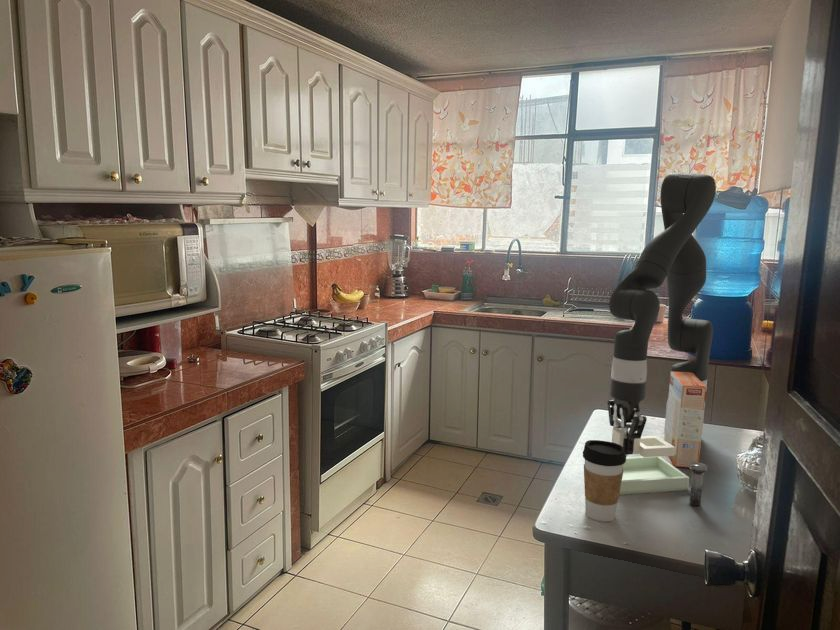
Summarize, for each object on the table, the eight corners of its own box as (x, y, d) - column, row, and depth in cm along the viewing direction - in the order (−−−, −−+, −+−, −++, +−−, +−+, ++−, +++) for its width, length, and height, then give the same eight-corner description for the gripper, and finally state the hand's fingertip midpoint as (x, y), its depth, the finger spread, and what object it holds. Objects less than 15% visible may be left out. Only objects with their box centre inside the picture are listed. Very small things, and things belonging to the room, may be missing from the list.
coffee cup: (575, 504, 130) (579, 437, 127) (615, 505, 130) (620, 438, 127) (584, 524, 122) (588, 453, 119) (627, 525, 121) (632, 454, 119)
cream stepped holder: (656, 443, 145) (657, 423, 144) (674, 455, 138) (676, 434, 137) (607, 446, 143) (608, 425, 142) (622, 458, 136) (624, 436, 135)
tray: (590, 471, 147) (590, 459, 146) (657, 467, 150) (658, 455, 149) (615, 495, 134) (616, 482, 134) (688, 490, 137) (689, 477, 137)
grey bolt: (683, 502, 132) (687, 462, 130) (697, 500, 132) (700, 461, 131) (692, 509, 128) (696, 468, 127) (706, 508, 129) (710, 467, 127)
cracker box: (700, 469, 148) (708, 386, 145) (673, 467, 149) (680, 384, 146) (687, 448, 162) (694, 371, 158) (663, 446, 163) (669, 370, 159)
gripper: (661, 385, 131) (655, 461, 133) (628, 369, 144) (623, 438, 147) (629, 386, 129) (623, 463, 132) (598, 369, 143) (593, 440, 146)
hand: (623, 450), depth 140 cm, fingers closed on cream stepped holder, 3 cm apart
